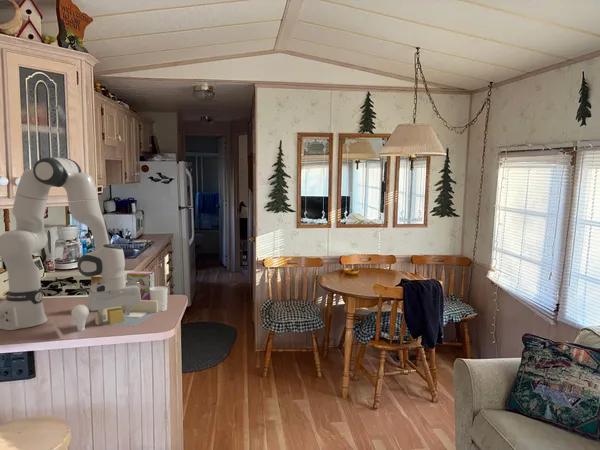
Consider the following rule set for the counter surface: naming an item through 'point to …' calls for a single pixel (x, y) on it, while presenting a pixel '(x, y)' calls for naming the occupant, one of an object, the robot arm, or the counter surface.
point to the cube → (115, 315)
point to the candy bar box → (142, 282)
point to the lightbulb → (80, 316)
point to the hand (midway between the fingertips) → (115, 317)
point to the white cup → (159, 296)
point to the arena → (131, 313)
